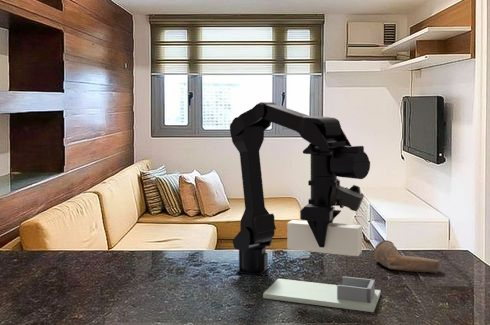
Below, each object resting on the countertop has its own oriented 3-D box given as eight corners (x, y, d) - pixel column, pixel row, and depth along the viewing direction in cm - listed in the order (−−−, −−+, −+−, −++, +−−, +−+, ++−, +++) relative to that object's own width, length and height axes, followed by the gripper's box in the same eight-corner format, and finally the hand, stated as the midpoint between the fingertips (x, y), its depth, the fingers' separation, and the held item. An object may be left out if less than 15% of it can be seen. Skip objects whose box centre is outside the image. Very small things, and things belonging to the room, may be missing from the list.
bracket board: (263, 298, 118) (263, 280, 118) (278, 282, 128) (278, 266, 128) (373, 312, 110) (374, 293, 109) (380, 294, 120) (380, 277, 119)
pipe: (442, 257, 132) (438, 241, 141) (373, 253, 136) (373, 237, 145) (441, 281, 134) (437, 263, 143) (372, 276, 138) (373, 259, 147)
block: (287, 248, 121) (287, 222, 120) (292, 245, 124) (292, 219, 123) (357, 256, 114) (358, 228, 113) (361, 252, 117) (361, 225, 116)
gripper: (354, 182, 106) (353, 259, 107) (366, 171, 123) (366, 237, 125) (299, 180, 109) (299, 254, 111) (318, 170, 127) (319, 234, 128)
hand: (323, 245), depth 119 cm, fingers closed on block, 4 cm apart
